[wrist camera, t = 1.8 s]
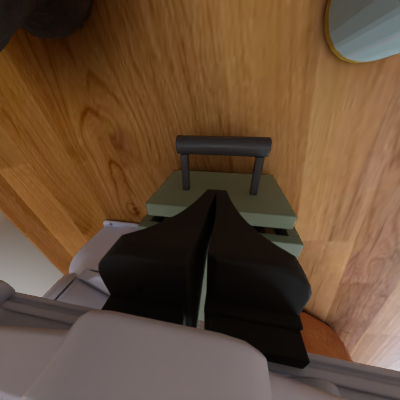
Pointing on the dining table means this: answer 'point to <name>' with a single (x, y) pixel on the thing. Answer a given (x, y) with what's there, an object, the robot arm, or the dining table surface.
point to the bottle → (363, 29)
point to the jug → (42, 17)
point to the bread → (322, 339)
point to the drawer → (226, 183)
